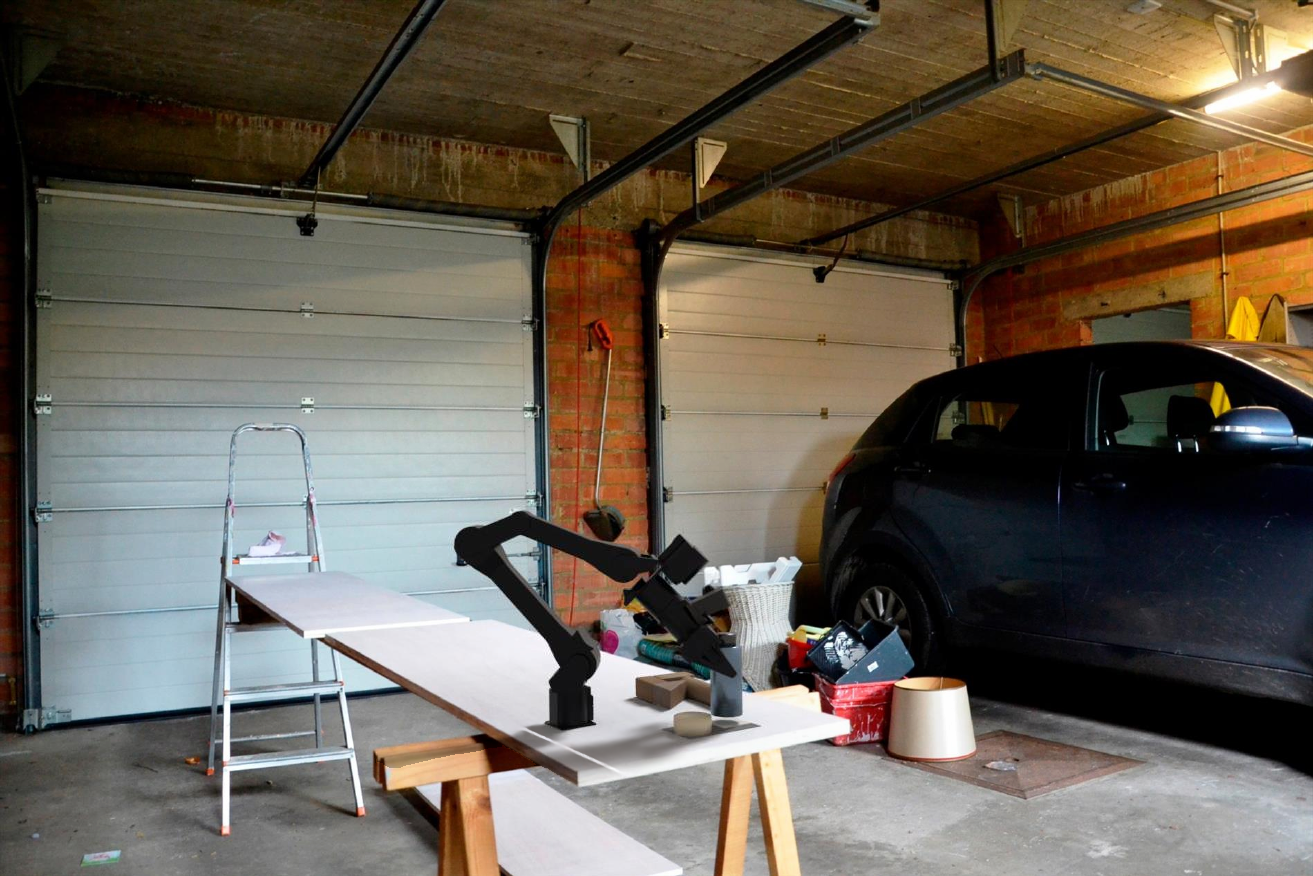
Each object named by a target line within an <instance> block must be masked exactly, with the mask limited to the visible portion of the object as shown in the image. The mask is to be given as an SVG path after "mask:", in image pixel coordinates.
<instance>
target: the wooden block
mask: <svg viewBox="0 0 1313 876" xmlns="http://www.w3.org/2000/svg"><path fill="white" fill-rule="evenodd" d="M635 697H637V698H640V699H642V700H644V701H646V702H648V703H651V704H653V705H656V706H657V705H659V706H661V707H663V708H666V709H668V710H672V709H674V708H675V707H677V706H678V705H680V704H681V703H683V702H684V701H687V699H688V698H690V699H693V700H696V701H698V702H701V703H703V704H706V705H709V706H711V685H710V683H709V682H707V681H704V680H701V679H698V678H695V674H694V673H690V672H688V671H681V672H680V671H678V672H673V673H672V672H671V673H663V674H655V675H647V676H640V677H639V676H638V677H636V678H635Z"/></svg>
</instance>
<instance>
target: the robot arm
mask: <svg viewBox="0 0 1313 876" xmlns="http://www.w3.org/2000/svg"><path fill="white" fill-rule="evenodd" d="M519 536H522V537H525V538H528V539H530V540H533V541H535V542H538V543H540V544H542V545H545V546H548V547H550V548H552V549H555V550H557V551H559V552H562V553H565V554H568V555H569V556H572V557H574V558H578V559H580V560H583V561H584V562H586V563H587V564H589V565H590V566H591V567H593V568H594V569H596V570H597V571H598V572H599V573H602V574H603V575H605V576H607V577H608V578H609V579H611V580H613V581H614V582H617V583H621V584H627V583H629V582H632V581H634V580H635V579H636V578H637V577H638V576H639V575H640V574H645V573H649V572H651V571H652V570H654V569H655V568H656V566H658V565H659V566H660V567H659V568H657V570H656V571H655V572H654V573H653V574H652V575H650V576H649V578H646V577H644V576H641V577H640V578H639V579H638V580H637V581H636V582H635V583H634V584H633V585H632V586H631V587H624V588H623V589H622V593H623V606H624V607H628V606H629V605H630V604H631V603H632V602H633V601H635V600H636V602H637V603H639V604H640V605H641V606H642V607H643V609H644V610H646V611H647V612H648V613H649V614H650V615H651V616H652V617H653V618H654V619H655V620H656V621H657V622H658V623H657V625H659V627H661V628H662V629H665V630H666V631H667V632H668V633H669V634H670V635H671V636H672V638H674V639H675V640H676V643H677V644H678V646H679V647H680V656H681V658H683V660H684V661H686V663H687V664H688V665H691V664H695V665H698V666H700V667H703V668H706V669H709V670H710V669H711V670H713V671H716V672H718V673H721V674H723V675H726V676H728V677H730V678H734V677H735V676H736V675H737V672H736V671H735V669H734V668H733V666H732V665H731V664H730V662H729V661H728V659H727V658H726V657H725V655H724V654H723V652H722V651H721V650H720V648H719V643H718V639H719V637H718V633H719V632H718V627H717V624H716V625H713V624H715V623H716V622H715V619H714V618H713V617H711V615H713V614H714V613H717V612H719V611H721V610H723V611H724V610H726V609H728V608H729V607H731V604H730V603H731V602H730V601H729V598H728V596H727V594H726V592H725V590H724V587H723V586H718V587H714V586H713V585H711V584H706V585H705V586H703V587H701V589H702V591H701V595H699V596H697V597H696V598H694V599H692V600H691V599H690V598H689V597H688V596H686V595H685V596H684V595H681V594H680V593H679V592H678V590H677V589H675V588H674V587H673V585H671V584H670V582H672V583H673V584H674V585H675V586H676V587H677V586H678V585H680V584H681V583H682V584H683V585H684V586H687V585H688V584H689V583H690V582H691V581H692V580H693V579H694V578H695V577H696V576H697V575H698V574H699V573H700V572H701V571H702V570H703V568H705V567H706V566H707V564H708V563H710V560H709V559H708V557H707V556H706V555H705V554H704V553H703V552H702V550H700V549H699V548H698V547H697V546H696V545H694V544H692V543H691V542H690V541H689V540H688V539H687V538H685V536H684V535H683V534H681V533H678V534H677V535H676V536H675V537H674V538H673V539H672V541H671V542H670V543H669V545H668V546H667V547H665V549H664V550H663V551H662V552H661V553H660V554H659V555H654V553H652V554H648V553H647V554H646V553H640V551H639V550H638V549H637V548H635V547H633V546H631V545H627V544H621V543H617V542H613V541H612V542H611V541H607V540H599V539H595V538H592V537H590V536H588V535H584V534H582V533H580V532H578V531H575V530H572V529H570V528H567V527H564V526H562V525H560V524H557V523H554V522H553V521H550V520H548V519H544V518H543V517H539V516H537V515H535V514H533V513H532V512H531V511H529V510H525V509H524V510H518V511H515V512H513V513H511V514H510V515H507V516H505V517H503V518H500V519H498V520H495V521H493V522H491V523H488V524H486V525H484V524H475V525H470V526H467V527H464V528H461V529H460V530H459V531H458V532H457V534H456V535H455V537H454V542H453V549H454V552H455V554H456V556H457V557H458V558H459V559H461V560H463V562H465V563H466V564H467V565H469V566H470V567H472V568H473V569H474V570H475V571H477V572H479V573H480V574H482V575H484V576H485V577H487V578H488V579H490V580H491V581H492V582H493V584H494V585H496V587H497V588H498V589H499V590H500V591H501V592H502V594H503V595H504V596H505V597H506V598H507V599H508V600H509V601H510V603H511V604H513V607H515V608H516V609H517V610H518V611H519V613H520V614H521V615H522V616H523V617H524V618H525V619H526V620H527V621H528V622H529V624H530V625H531V626H532V627H533V628H534V629H535V630H536V631H537V633H539V635H540V637H542V638H543V639H544V640H545V642H546V644H547V645H548V647H549V649H550V652H551V653H552V656H553V658H554V660H555V661H556V663H557V665H558V666H559V667H558V668H557V669H556V670H555V671H554V673H553V674H552V676H551V677H550V678H549V679H548V685H549V688H548V716H549V717H548V720H545V721H544V724H545V725H548V726H550V727H552V728H555V729H556V730H559V731H568V730H575V729H580V728H581V729H582V728H587V727H592V726H597V722H595V721H594V719H595V718H594V708H595V707H594V704H595V703H594V695H593V694H592V686H590V685H586V684H587V683H588V681H589V680H590V679H591V678H592V677H593V676H594V675H595V674H596V672H597V670H598V669H599V667H600V664H601V660H602V659H601V651H600V649H599V648H598V645H599V641H598V640H595V639H593V637H592V636H591V635H589V633H588V631H587V630H586V628H585V626H584V625H580V626H579V627H578V628H577V629H576V630H575V629H574V628H572V627H570V626H569V625H568V624H566V623H565V622H564V621H563V620H562V618H561V617H560V616H559V615H558V614H557V613H556V612H555V611H554V609H553V608H552V607H550V605H549V604H548V603H547V602H546V601H545V600H544V599H543V598H542V596H541V595H540V594H539V593H538V592H537V591H536V589H534V588H533V587H532V585H531V584H530V583H529V582H528V580H526V578H524V576H522V574H521V573H520V572H519V571H518V570H517V569H516V568H515V566H514V565H513V564H512V563H511V561H510V560H509V558H508V555H507V553H506V551H505V550H504V547H503V545H502V544H503V543H506V542H509V541H510V540H512V539H514V538H517V537H519ZM661 572H662V573H663V575H664V576H665V577H666V578H667V579H668V580H669V581H670V582H668V581H667V580H666V579H665V578H664V577H663V576H662V575H661V574H660V573H661ZM711 625H712V626H713V627H711Z"/></svg>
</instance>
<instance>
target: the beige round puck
mask: <svg viewBox="0 0 1313 876" xmlns="http://www.w3.org/2000/svg"><path fill="white" fill-rule="evenodd" d="M712 716H713V715H711V713H709V712H704V711H681V712H677V713H675V714H674V715H673V727H674V733H675V734H674V735H676V734H677V735H676V736H678V735H680V736H679V737H681V736H690V737H695V736H704V735H708V734H710V733H712V720H713V719H712V718H713V717H712Z"/></svg>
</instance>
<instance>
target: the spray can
mask: <svg viewBox="0 0 1313 876" xmlns="http://www.w3.org/2000/svg"><path fill="white" fill-rule="evenodd" d="M717 633H718V637H719V639H718V643H719V648H720V650H721V651H722V652H723V654H724V655H725V657H726V658H727V659H728V661H729V662H730V664H731V665H732V666H733V668H734V669H735V671H736V672H737V675H736V676H735V677H734V678H730V677H728V676H726V675H723V674H721V673H718V672H716V671H713V670H711V669H709V671H710V672H709V673H710V680H709V682H710V685H711V705H710V714H711V716H713V717H717V718H725V717H726V718H729V717H734V718H737V717H738V718H739V717H741V716H743V711H744V709H743V708H744V707H743V705H744V703H743V701H744V699H743V646H742V645H741V644H739V643H737V633H736V632H729V631H726V632H725V631H721V632H717Z"/></svg>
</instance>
